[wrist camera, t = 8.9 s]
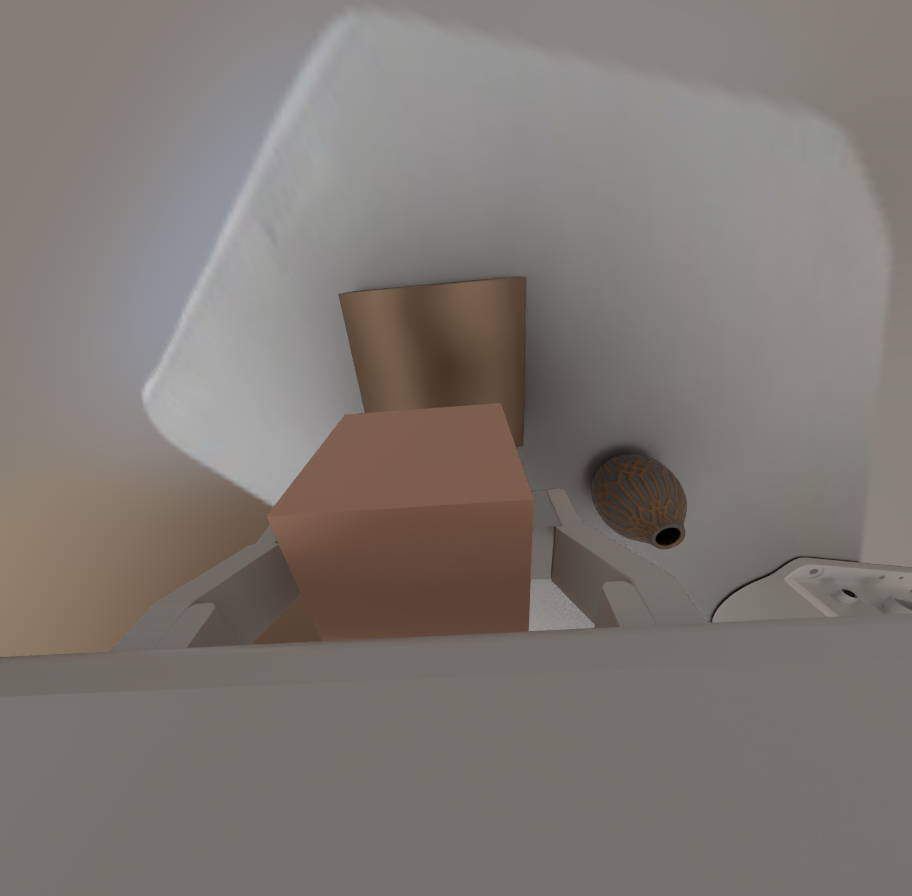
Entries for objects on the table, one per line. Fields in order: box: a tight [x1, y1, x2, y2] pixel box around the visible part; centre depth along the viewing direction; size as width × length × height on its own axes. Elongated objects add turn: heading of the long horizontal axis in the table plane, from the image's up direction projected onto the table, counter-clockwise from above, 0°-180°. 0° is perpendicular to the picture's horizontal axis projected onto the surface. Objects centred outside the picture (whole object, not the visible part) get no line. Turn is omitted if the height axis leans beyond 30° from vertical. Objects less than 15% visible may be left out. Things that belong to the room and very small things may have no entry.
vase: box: [591, 454, 687, 549], centre depth 28 cm, size 7×7×9 cm
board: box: [339, 277, 526, 447], centre depth 25 cm, size 12×12×4 cm
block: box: [267, 403, 534, 641], centre depth 9 cm, size 5×5×5 cm
